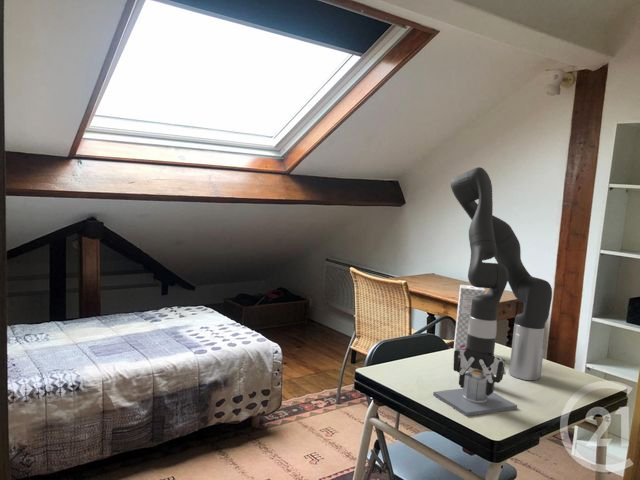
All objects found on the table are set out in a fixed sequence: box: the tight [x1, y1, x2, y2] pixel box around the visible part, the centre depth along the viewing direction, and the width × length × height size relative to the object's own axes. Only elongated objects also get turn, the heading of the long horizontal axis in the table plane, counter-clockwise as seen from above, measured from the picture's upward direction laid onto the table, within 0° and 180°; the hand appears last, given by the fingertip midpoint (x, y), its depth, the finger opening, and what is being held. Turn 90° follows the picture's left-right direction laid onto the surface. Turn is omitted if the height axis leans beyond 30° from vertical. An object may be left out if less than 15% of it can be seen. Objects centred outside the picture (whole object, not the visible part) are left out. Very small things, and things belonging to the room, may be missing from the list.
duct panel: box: [432, 369, 518, 417], centre depth 139 cm, size 18×14×9 cm
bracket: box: [461, 350, 507, 376], centre depth 154 cm, size 4×10×15 cm
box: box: [453, 284, 486, 352], centre depth 186 cm, size 8×8×25 cm
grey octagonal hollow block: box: [463, 371, 489, 401], centre depth 140 cm, size 6×8×6 cm
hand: (475, 390), depth 140 cm, fingers open, 6 cm apart
